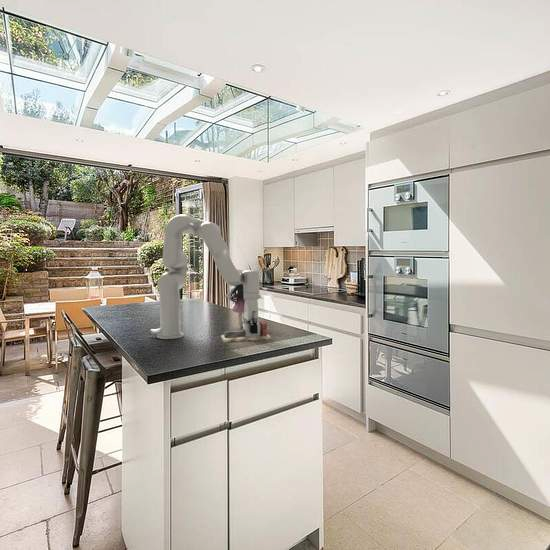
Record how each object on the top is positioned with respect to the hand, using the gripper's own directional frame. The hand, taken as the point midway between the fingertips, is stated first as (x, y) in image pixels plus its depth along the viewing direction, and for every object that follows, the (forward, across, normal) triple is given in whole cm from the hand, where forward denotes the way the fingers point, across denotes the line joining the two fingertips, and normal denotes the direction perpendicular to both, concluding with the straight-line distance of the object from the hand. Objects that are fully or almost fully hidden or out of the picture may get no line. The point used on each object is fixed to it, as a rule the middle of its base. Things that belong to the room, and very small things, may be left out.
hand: (251, 331), depth 176 cm
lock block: (+2, 0, 0) cm, 2 cm away
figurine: (+3, -25, +1) cm, 25 cm away
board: (+3, 0, -3) cm, 4 cm away
